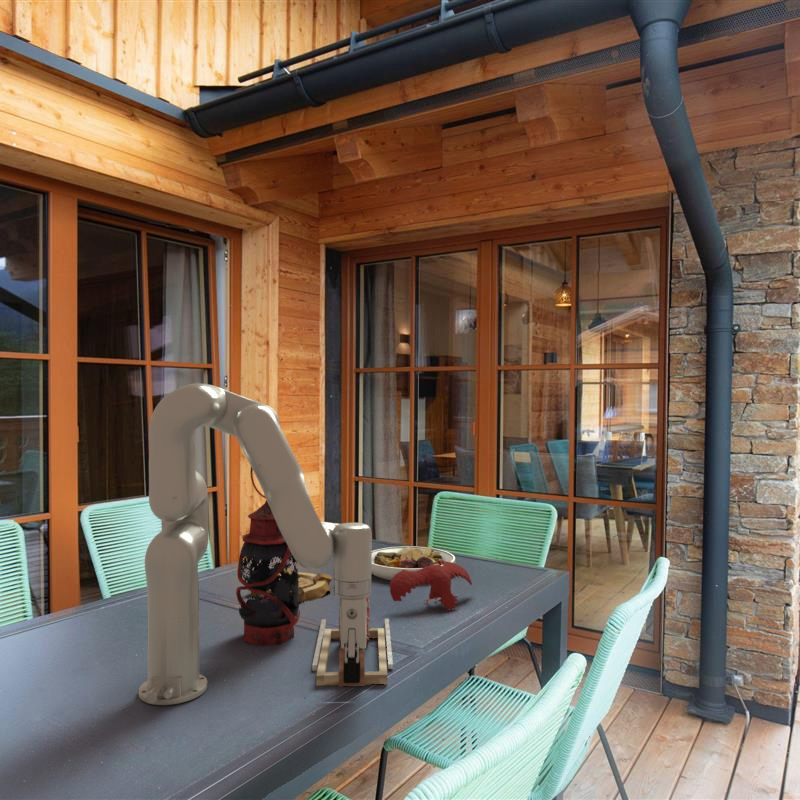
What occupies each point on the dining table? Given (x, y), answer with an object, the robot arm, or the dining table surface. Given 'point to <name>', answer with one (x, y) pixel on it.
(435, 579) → the decorative bird sculpture
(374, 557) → the bowl
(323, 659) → the pull frame
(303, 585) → the ashtray
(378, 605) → the dining table surface
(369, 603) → the soda can
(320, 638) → the guide rails
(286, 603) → the lantern
